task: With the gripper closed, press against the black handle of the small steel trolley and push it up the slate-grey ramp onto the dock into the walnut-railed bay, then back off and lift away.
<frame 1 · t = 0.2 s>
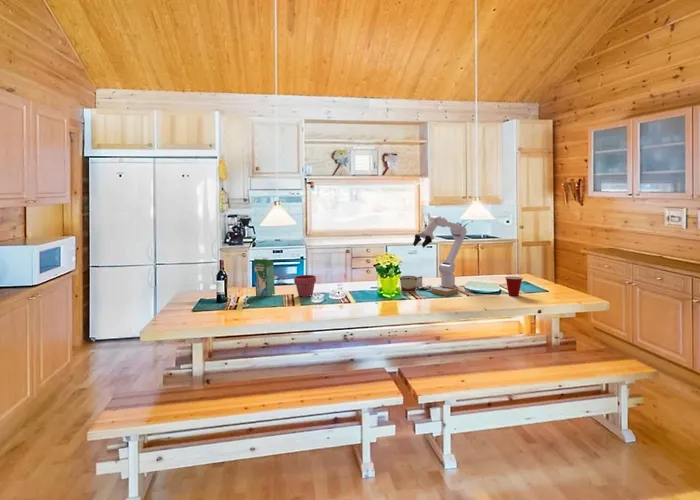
hand: (418, 245, 314), 31 cm above the table, tool tilted 45°, fingers open, 7 cm apart
food container: (408, 291, 324), on the table
plant pot: (305, 295, 317), on the table
dock: (423, 288, 329), on the table
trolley: (423, 283, 329), point 4 cm above the table, slide at 0.0 cm
plastic cup: (513, 295, 305), on the table
milk carton: (265, 295, 322), on the table
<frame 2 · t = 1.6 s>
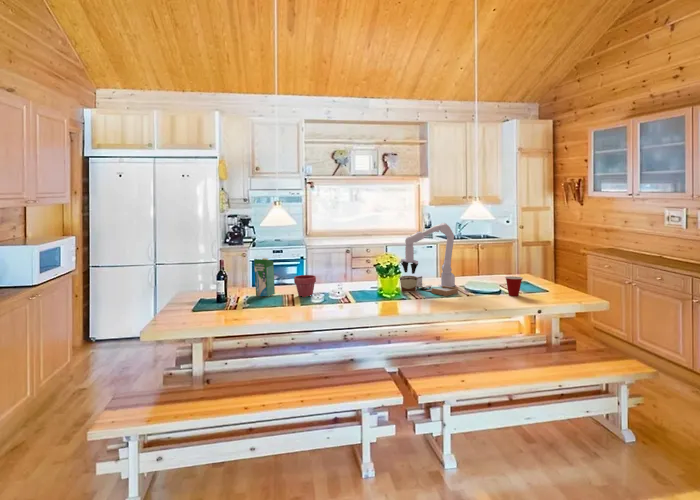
hand: (409, 272, 338), 9 cm above the table, tool pointing down, fingers open, 6 cm apart
nothing on the table moved.
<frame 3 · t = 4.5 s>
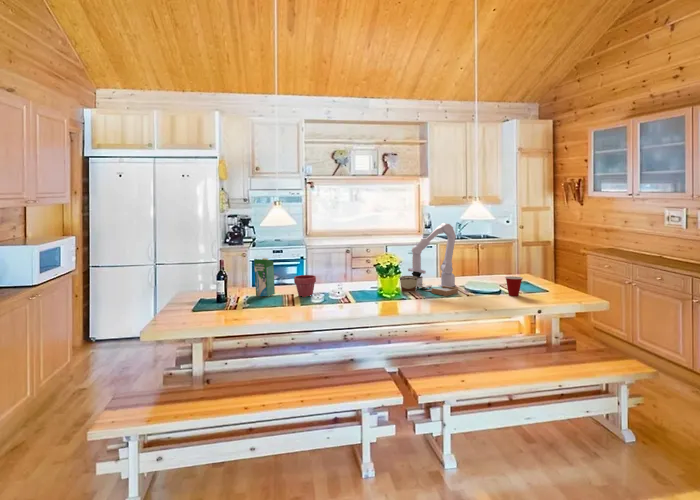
hand: (416, 282, 333), 3 cm above the table, tool pointing down, fingers closed
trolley: (423, 283, 329), point 4 cm above the table, slide at 0.2 cm, touching gripper
everything else where it was.
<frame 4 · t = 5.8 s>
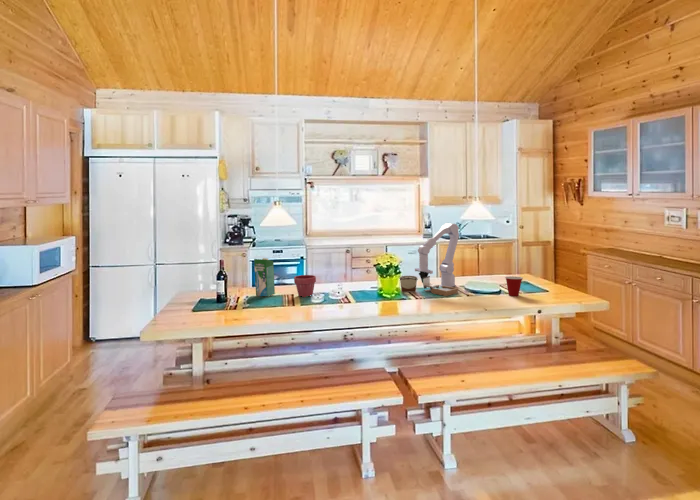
hand: (423, 282, 329), 4 cm above the table, tool pointing down, fingers closed
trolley: (430, 282, 324), point 5 cm above the table, slide at 6.8 cm, touching gripper
everything else where it was.
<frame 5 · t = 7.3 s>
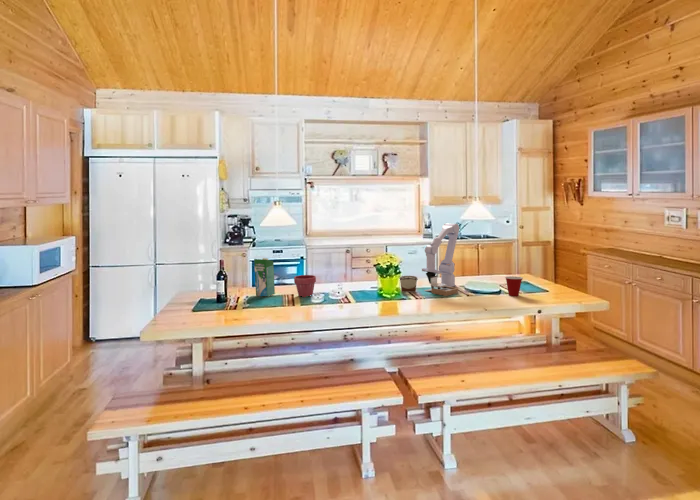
hand: (430, 283, 324), 5 cm above the table, tool pointing down, fingers closed
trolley: (438, 282, 319), point 6 cm above the table, slide at 13.4 cm, touching gripper
everything else where it was.
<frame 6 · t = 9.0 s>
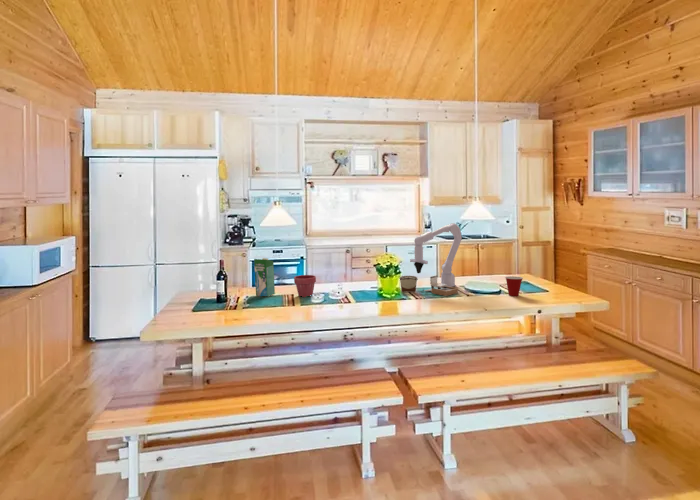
hand: (418, 273, 336), 9 cm above the table, tool pointing down, fingers closed
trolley: (438, 282, 318), point 6 cm above the table, slide at 13.5 cm
everything else where it was.
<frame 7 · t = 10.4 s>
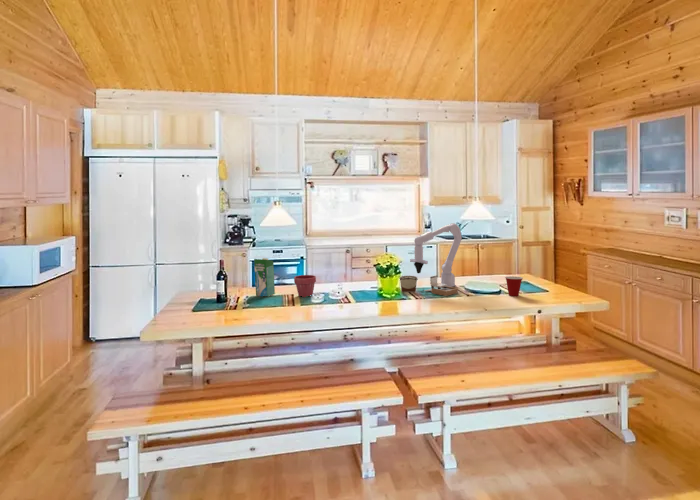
hand: (418, 273, 336), 9 cm above the table, tool pointing down, fingers closed
nothing on the table moved.
at the end: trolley slide at 13.5 cm; the gripper is holding nothing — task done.
